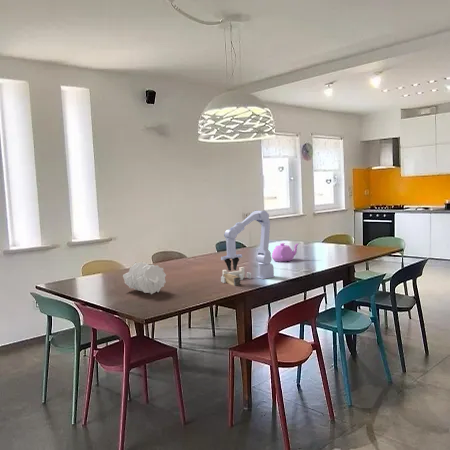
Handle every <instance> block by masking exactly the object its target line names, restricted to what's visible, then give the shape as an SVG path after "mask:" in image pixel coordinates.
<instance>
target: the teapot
mask: <svg viewBox="0 0 450 450" xmlns="http://www.w3.org/2000/svg"><path fill="white" fill-rule="evenodd" d="M299 244H300V243H296V244H294V247H293V248H294V249H293V250H292V248H291V247H290V245H287V244H285V243H284V242H281V243H279V245H276V246H275V247H274V249H273V251H272V254H271V258H272V261H274V262H278V263H280V262H286V261H288V262H290V261H292V260H294V257H295V256H297V255H296V254H297V253H298V252H297V251H298V250H297V249H298V245H299Z"/></svg>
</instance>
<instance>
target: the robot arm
mask: <svg viewBox="0 0 450 450" xmlns="http://www.w3.org/2000/svg"><path fill="white" fill-rule="evenodd" d="M269 217H270V213H268V211H266V210H253V211H251V213H250V214H249V215H248V216H247V217H246V218H244V220H242V221H239V222H235V224H234V225H233V226H231V227H229V229H226V230H225V231H224V234H223V236H224V238H225V244H226V255H224V256H220V261H224V262H225V265H226V267H227V272H232V270H234V271H237V267H238V263H239V261H240V259H241V258H243V254H241V253H239V254H237V248H236V245H237V244H236V238H237V236H238V235H239V234H240V233H242V232H243V231H244V230H245V227H246V226H248V225H249V224H250V223H252V222H254V221H256V222H258V223H259V224H260V226H261V228H260V243H259V249H258V250H257V254H256V256H255V261H256V262H257V265H258V276H256V278H257V279H261V280H264V279H270V278H271V279H272V278H275V270H274V265H273V263H271V262H272V261H273V259H272V254H271V252H270V250H269V246H270V245H269V243H270V242H269V241H270V229H271V221H270V218H269Z"/></svg>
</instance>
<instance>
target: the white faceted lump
mask: <svg viewBox="0 0 450 450" xmlns="http://www.w3.org/2000/svg"><path fill="white" fill-rule="evenodd" d="M166 276H167V274H166V273H165V271H164V268H163V267H160V266H159V264H157V265H154V264H148V263H147V262H143V261H140V262H138V263H137V262H135V263H134V264H133V265H132V266H130V267H129V270H128V272H126V273H124V274H123V275H122V279H123V280H124V284H125V285H127V286H128V289H134V290H135V291H138V292H139V291H140V292H143V293H145V294H146V293H148V294H150V295H153V294H155V293H156V292H157V293H159V292H160V290H161V289H162V288H164V287H165V284H166V283H167V282H166Z"/></svg>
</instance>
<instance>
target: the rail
mask: <svg viewBox="0 0 450 450" xmlns="http://www.w3.org/2000/svg"><path fill="white" fill-rule="evenodd" d="M222 277H225V281H226V283H225V284H228V285H230V286H234V287H236V286H237V285H238V286H241V280H240V277H238V276H234V275H231V274H223V276H222ZM238 286H237V287H238Z"/></svg>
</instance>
